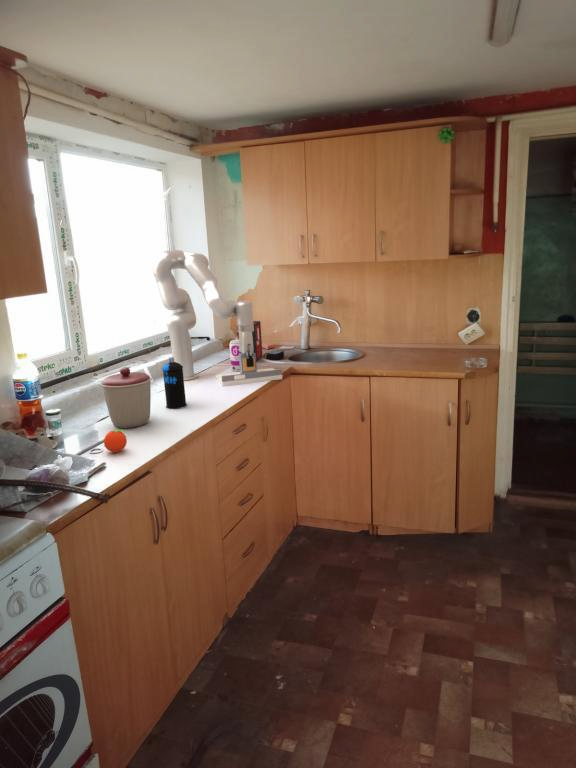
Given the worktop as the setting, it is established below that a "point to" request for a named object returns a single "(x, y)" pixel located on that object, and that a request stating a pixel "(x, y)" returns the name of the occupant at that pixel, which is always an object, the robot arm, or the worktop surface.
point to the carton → (244, 364)
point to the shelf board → (249, 377)
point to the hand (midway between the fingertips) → (248, 364)
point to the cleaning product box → (256, 340)
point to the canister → (128, 398)
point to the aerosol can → (174, 385)
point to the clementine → (115, 441)
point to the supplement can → (234, 355)
